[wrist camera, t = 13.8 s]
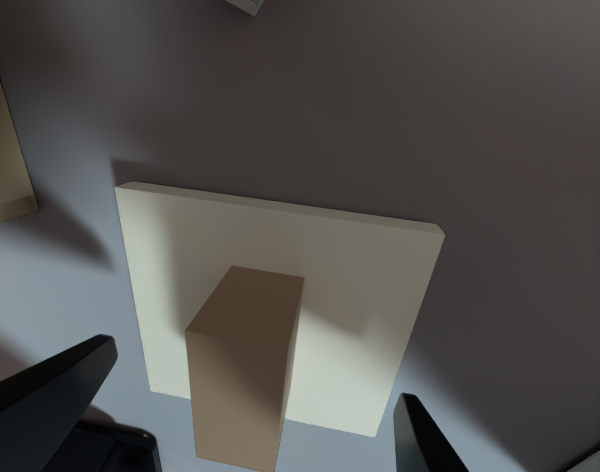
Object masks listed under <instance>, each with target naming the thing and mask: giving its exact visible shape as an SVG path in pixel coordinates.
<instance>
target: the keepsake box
mask: <svg viewBox="0 0 600 472" xmlns="http://www.w3.org/2000/svg"><path fill="white" fill-rule="evenodd" d="M38 210H39V208H38V205H37V202H36V198H35V195H34V192H33V188H32V185H31V182H30V178H29V175H28V172H27V168H26V165H25V162H24V159H23V155H22V152H21V149H20V145H19V142H18V139H17V135H16V132H15V129H14V125H13V122H12V119H11V115H10V112H9V109H8V105H7V102H6V99H5V95H4V92H3V89H2V85H1V82H0V223H1V222H4V221H7V220H10V219H13V218H16V217H19V216H22V215H25V214H28V213H32V212H35V211H38Z"/></svg>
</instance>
